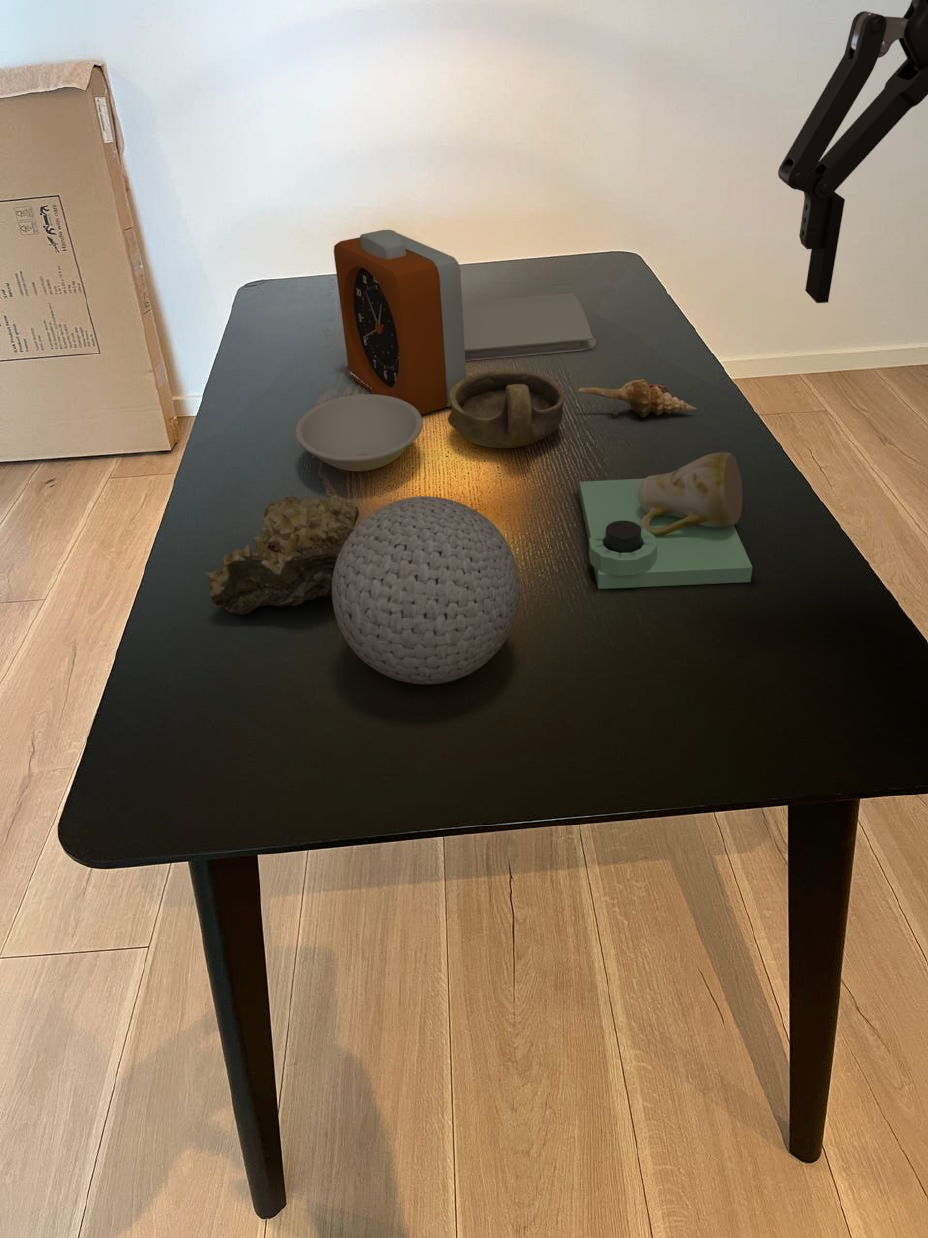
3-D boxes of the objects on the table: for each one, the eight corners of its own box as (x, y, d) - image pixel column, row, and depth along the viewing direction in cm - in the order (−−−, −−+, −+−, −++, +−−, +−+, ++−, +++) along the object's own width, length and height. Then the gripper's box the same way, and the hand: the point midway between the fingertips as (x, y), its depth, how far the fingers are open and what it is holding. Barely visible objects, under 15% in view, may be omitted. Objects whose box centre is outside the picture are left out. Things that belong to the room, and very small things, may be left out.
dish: (435, 491, 107) (432, 450, 104) (304, 508, 106) (297, 466, 103) (415, 425, 121) (412, 387, 118) (299, 439, 120) (293, 401, 117)
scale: (752, 585, 89) (756, 553, 87) (592, 593, 90) (593, 560, 87) (710, 489, 104) (713, 459, 102) (573, 495, 105) (574, 466, 103)
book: (432, 327, 150) (430, 301, 148) (579, 313, 151) (580, 288, 149) (440, 363, 138) (438, 336, 135) (600, 349, 139) (601, 321, 136)
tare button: (642, 553, 89) (643, 537, 88) (607, 555, 89) (608, 538, 88) (637, 535, 91) (638, 519, 90) (603, 537, 91) (603, 521, 90)
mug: (638, 495, 101) (694, 416, 95) (714, 553, 99) (776, 475, 94) (614, 512, 95) (673, 428, 89) (694, 574, 93) (759, 492, 87)
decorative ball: (548, 632, 85) (547, 479, 76) (477, 743, 74) (467, 579, 65) (396, 598, 90) (379, 451, 82) (310, 697, 80) (280, 540, 71)
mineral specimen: (259, 543, 100) (241, 455, 94) (382, 547, 98) (371, 457, 92) (210, 627, 88) (186, 533, 83) (348, 633, 87) (334, 537, 81)
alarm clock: (347, 377, 135) (327, 222, 123) (403, 363, 139) (389, 210, 127) (410, 422, 122) (394, 253, 110) (470, 405, 125) (461, 239, 113)
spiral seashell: (680, 401, 123) (683, 367, 121) (696, 416, 119) (698, 380, 116) (576, 414, 122) (576, 380, 119) (588, 430, 117) (588, 394, 115)
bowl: (553, 410, 123) (553, 332, 117) (581, 473, 109) (582, 388, 103) (444, 420, 122) (439, 342, 116) (458, 485, 108) (452, 400, 102)
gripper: (1191, -112, 56) (1076, 264, 69) (756, -83, 57) (720, 284, 69) (1279, -115, 50) (1136, 298, 63) (791, -82, 51) (745, 319, 63)
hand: (917, 291), depth 66 cm, fingers open, 13 cm apart
